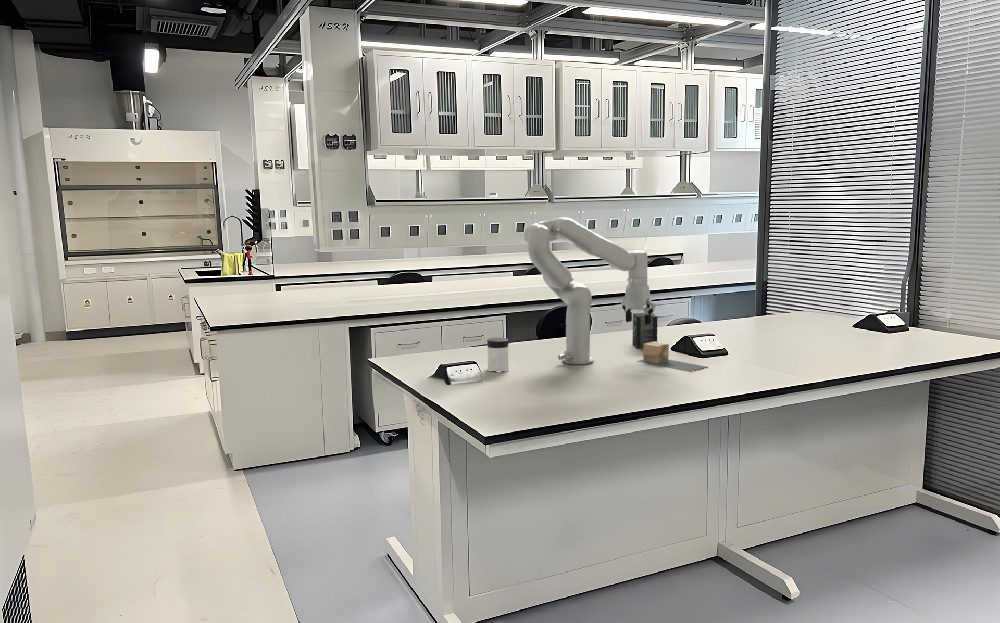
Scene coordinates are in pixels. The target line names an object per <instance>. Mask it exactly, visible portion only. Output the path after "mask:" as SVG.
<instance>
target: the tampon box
mask: <svg viewBox="0 0 1000 623" xmlns="http://www.w3.org/2000/svg"><path fill="white" fill-rule="evenodd" d="M645 315H646V314H645V312H640V313H638V312H633V313H632V342H631V343H632V346H633V347H634V348H635V349H636V350H639V349H644V344H645V343H650V342H654V341H655V342H658V316H657V315H656V314H655V313H654V312H653V313H652V314H651V324H648V325H645Z"/></svg>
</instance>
